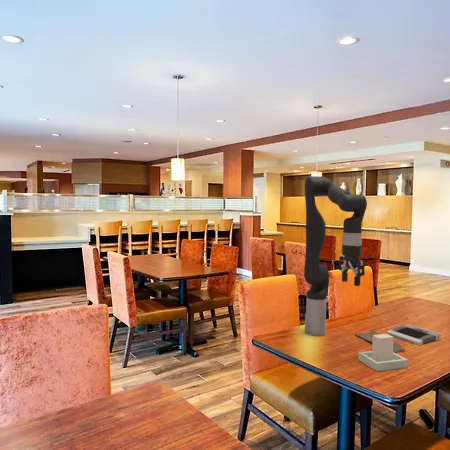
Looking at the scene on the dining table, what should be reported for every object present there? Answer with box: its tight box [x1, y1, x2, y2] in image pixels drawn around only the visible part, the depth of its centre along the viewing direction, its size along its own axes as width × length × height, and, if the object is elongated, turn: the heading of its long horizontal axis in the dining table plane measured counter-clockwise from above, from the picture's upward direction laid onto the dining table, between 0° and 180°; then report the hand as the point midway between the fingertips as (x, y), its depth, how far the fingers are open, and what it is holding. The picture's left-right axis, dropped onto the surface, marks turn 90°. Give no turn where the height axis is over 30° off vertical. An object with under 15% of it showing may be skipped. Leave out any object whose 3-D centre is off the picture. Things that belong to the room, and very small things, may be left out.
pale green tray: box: [357, 350, 409, 372], centre depth 156 cm, size 11×14×3 cm
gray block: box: [371, 333, 395, 362], centre depth 155 cm, size 4×6×10 cm, turn 106°
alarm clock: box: [386, 323, 442, 347], centre depth 187 cm, size 17×5×16 cm
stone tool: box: [354, 329, 406, 354], centre depth 179 cm, size 11×3×25 cm
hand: (350, 283), depth 161 cm, fingers open, 8 cm apart
